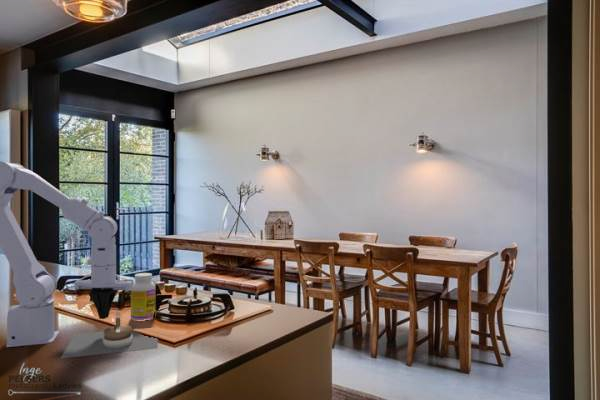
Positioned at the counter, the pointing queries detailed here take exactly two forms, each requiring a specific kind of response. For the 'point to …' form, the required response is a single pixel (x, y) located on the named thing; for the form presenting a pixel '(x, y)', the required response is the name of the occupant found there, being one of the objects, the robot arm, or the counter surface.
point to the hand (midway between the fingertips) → (103, 317)
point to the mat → (94, 346)
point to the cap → (117, 330)
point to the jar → (117, 343)
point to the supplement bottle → (143, 297)
